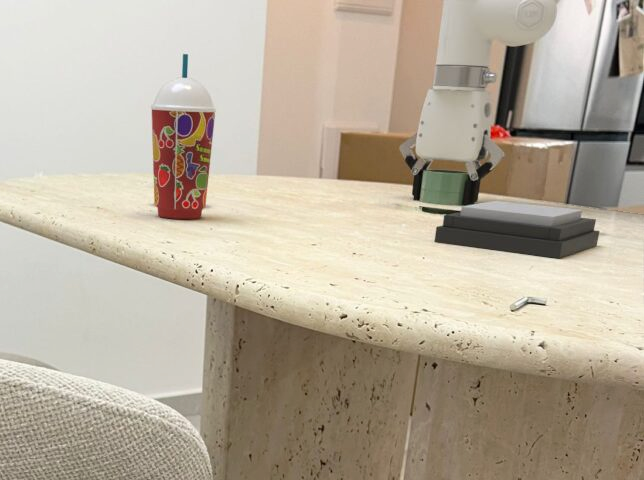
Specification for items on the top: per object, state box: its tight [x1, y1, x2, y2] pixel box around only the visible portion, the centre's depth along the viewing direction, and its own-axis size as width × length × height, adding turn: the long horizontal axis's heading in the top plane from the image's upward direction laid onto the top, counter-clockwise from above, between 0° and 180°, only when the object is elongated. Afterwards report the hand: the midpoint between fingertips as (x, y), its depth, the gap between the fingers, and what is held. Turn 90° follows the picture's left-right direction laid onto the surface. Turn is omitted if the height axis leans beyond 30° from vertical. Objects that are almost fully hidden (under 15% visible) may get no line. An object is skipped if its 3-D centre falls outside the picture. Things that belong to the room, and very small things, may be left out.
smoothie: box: [150, 53, 217, 220], centre depth 122 cm, size 8×8×20 cm
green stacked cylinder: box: [418, 168, 469, 215], centre depth 144 cm, size 7×7×6 cm
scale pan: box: [460, 200, 583, 227], centre depth 115 cm, size 11×11×2 cm
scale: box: [434, 212, 600, 260], centre depth 115 cm, size 15×15×3 cm
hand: (443, 203), depth 144 cm, fingers closed on green stacked cylinder, 7 cm apart
